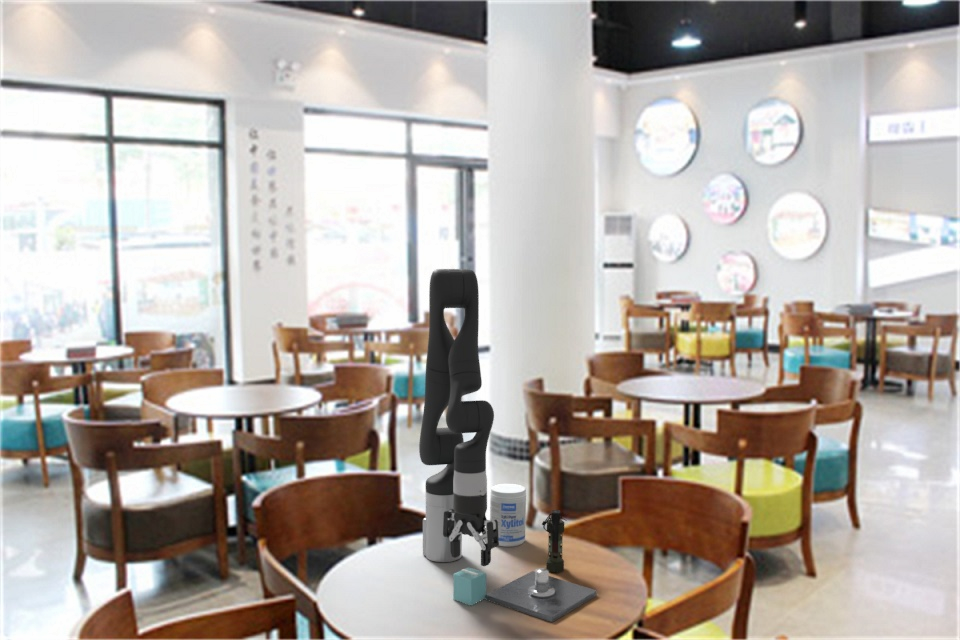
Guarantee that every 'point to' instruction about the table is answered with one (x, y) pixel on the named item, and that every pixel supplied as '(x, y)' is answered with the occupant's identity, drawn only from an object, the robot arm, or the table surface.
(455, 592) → the teal cube with window
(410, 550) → the table surface
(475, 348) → the robot arm
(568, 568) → the table surface
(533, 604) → the post base
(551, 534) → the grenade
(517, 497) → the supplement tub
